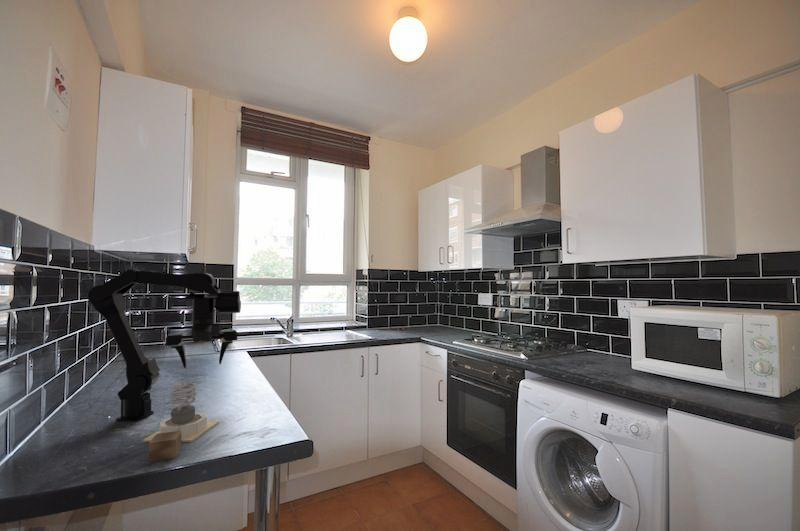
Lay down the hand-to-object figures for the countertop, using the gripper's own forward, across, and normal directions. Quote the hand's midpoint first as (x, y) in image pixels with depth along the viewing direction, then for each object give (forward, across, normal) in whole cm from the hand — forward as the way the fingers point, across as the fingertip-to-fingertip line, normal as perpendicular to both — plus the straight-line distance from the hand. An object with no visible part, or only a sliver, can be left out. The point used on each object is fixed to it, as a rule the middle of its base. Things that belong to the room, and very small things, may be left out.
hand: (202, 365), depth 109 cm
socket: (+13, -4, -16) cm, 21 cm away
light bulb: (+13, -4, -16) cm, 21 cm away
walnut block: (+13, -6, -29) cm, 32 cm away
